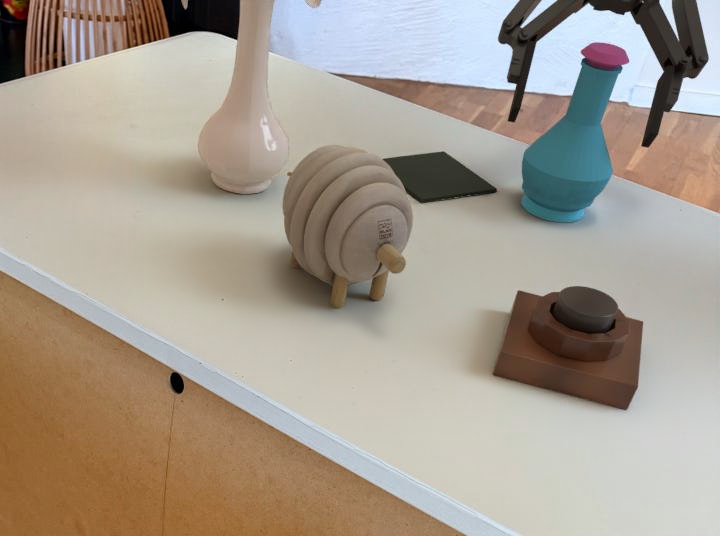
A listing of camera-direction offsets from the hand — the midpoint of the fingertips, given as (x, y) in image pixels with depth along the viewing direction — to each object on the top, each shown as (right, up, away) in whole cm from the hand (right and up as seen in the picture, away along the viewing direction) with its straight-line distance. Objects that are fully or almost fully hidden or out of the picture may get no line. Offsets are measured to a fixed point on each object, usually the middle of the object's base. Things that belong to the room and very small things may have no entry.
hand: (581, 128), depth 92 cm
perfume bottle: (-1, -5, +6) cm, 8 cm away
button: (-6, -25, -17) cm, 31 cm away
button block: (-6, -27, -14) cm, 31 cm away
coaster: (-13, -1, +9) cm, 16 cm away
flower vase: (-34, -4, +3) cm, 35 cm away
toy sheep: (-26, -19, -9) cm, 33 cm away
